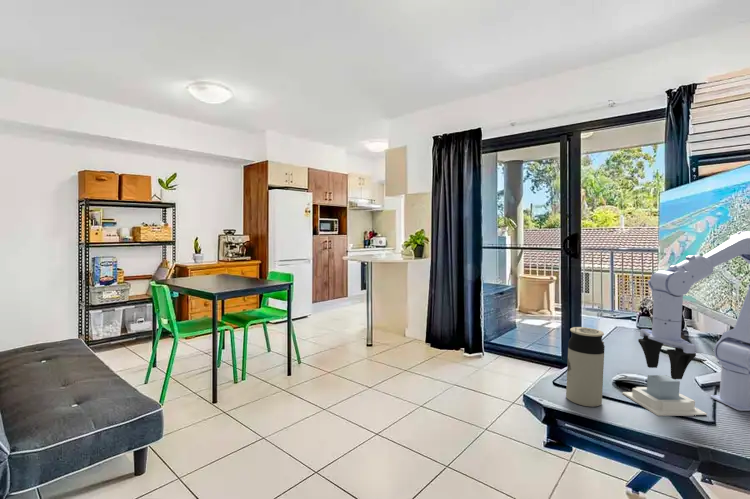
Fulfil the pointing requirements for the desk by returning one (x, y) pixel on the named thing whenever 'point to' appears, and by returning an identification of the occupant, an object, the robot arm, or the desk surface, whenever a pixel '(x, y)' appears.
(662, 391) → the plug block
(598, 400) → the travel mug
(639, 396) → the socket plate
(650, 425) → the desk surface
